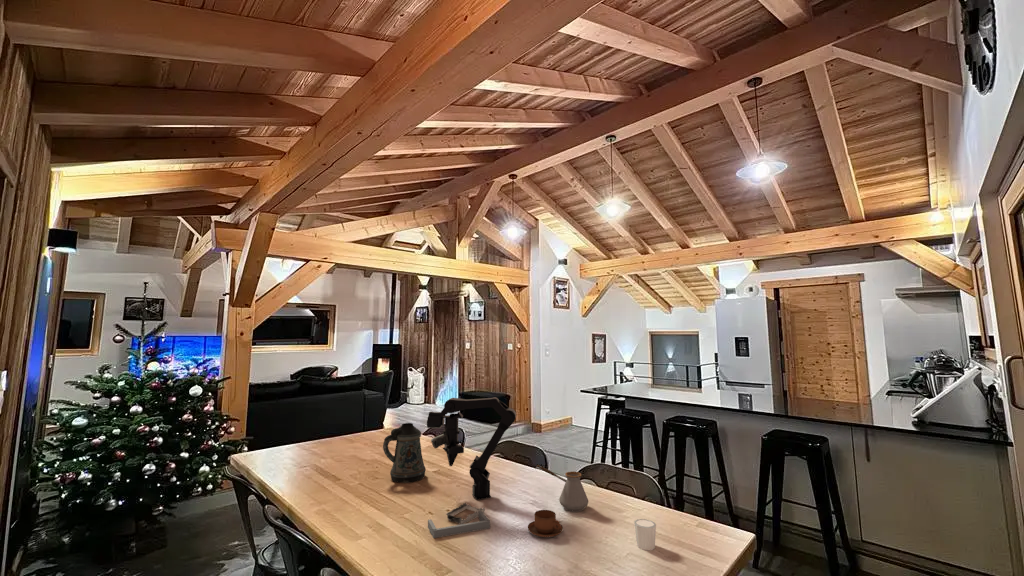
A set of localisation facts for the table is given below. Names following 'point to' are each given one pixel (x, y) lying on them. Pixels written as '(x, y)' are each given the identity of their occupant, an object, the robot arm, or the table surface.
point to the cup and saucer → (545, 524)
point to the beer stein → (405, 454)
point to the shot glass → (645, 534)
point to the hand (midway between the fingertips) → (450, 466)
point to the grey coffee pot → (571, 491)
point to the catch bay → (459, 527)
